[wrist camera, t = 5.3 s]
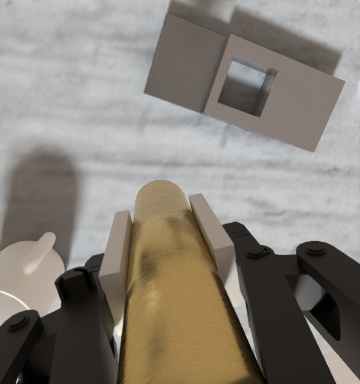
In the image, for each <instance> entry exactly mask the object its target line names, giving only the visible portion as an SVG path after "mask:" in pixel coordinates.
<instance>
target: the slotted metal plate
mask: <svg viewBox="0 0 360 384" xmlns="http://www.w3.org/2000/svg"><path fill="white" fill-rule="evenodd" d="M232 60H233V61H236V62H238V63H241V64H243V65H246V66H248V67H251V68H253V69H256V70H258V71H261V72H263V73H266V74H267V76H266V78H265V81H264V83H263V86H262V89H261V91H260V94H259V96H258V99H257V102H256V104H255V107H254V110H253V112H252V115H251V114H248V113H245V112H243V111H240V110H237V109H234V108H232V107H229V106H226V105H223V104H221V103H218V99H219V96H220V93H221V90H222V87H223V84H224V82H225V79H226V76H227V73H228V70H229V67H230V65H231V62H232ZM345 82H346V81H343V80H341V79H338V78H336V77H334V76H331V75H329V74H326V73H324V72H322V71H319V70H317V69H315V68H312V67H310V66H307V65H305V64H303V63H300V62H298V61H295V60H293V59H291V58H288V57H286V56H284V55H281V54H279V53H276V52H274V51H272V50H269V49H267V48H264V47H262V46H260V45H257V44H255V43H252V42H250V41H248V40H245V39H243V38H241V37H238V36H236V35H233V34H230V35H229V36H228V37H226V36H223V35H221V34H218V33H216V32H214V31H211V30H209V29H206V28H204V27H201V26H199V25H197V24H194V23H192V22H189V21H187V20H185V19H182V18H180V17H177V16H175V15H173V14H170V13H168V12H167V15H166V18H165V22H164V25H163V29H162V32H161V36H160V39H159V42H158V46H157V49H156V53H155V56H154V60H153V63H152V67H151V70H150V73H149V77H148V80H147V84H146V87H145V91H144V94H147V95H150V96H153V97H156V98H159V99H161V100H164V101H167V102H170V103H173V104H175V105H178V106H181V107H184V108H187V109H189V110H192V111H195V112H198V113H201V114H203V115H206V116H209V117H212V118H215V119H218V120H220V121H223V122H226V123H229V124H232V125H234V126H237V127H240V128H243V129H246V130H248V131H251V132H254V133H259V134H261V135H264V136H267V137H270V138H273V139H275V140H278V141H281V142H284V143H287V144H289V145H292V146H295V147H298V148H301V149H304V150H306V151H310V152H314V151H315V149H316V147H317V144H318V142H319V140H320V138H321V136H322V133H323V131H324V129H325V127H326V124H327V122H328V120H329V118H330V115H331V113H332V111H333V109H334V106H335V104H336V102H337V100H338V97H339V95H340V93H341V91H342V88H343V86H344V84H345Z"/></svg>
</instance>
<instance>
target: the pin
mask: <svg viewBox="0 0 360 384" xmlns="http://www.w3.org/2000/svg"><path fill="white" fill-rule="evenodd" d="M117 384H267V383H266V381H265V378H264V376H263V374H262V372H261V369H260V367H259V365H258V362H257V360H256V358H255V355H254V353H253V351H252V349H251V346H250V344H249V342H248V339H247V337H246V335H245V333H244V330H243V328H242V326H241V323H240V321H239V319H238V317H237V314H236V312H235V310H234V307H233V305H232V303H231V301H230V298H229V296H228V294H227V291H226V289H225V287H224V285H223V282H222V280H221V278H220V275H219V273H218V271H217V269H216V266H215V264H214V262H213V259H212V257H211V255H210V253H209V250H208V248H207V246H206V243H205V241H204V239H203V237H202V234H201V232H200V230H199V227H198V225H197V223H196V221H195V218H194V216H193V214H192V211H191V209H190V207H189V205H188V202H187V200H186V198H185V195H184V193H183V191H182V190H181V189H180V188H179V187H178V186H177V185H176V184H174V183H172V182H170V181H166V180H156V181H152V182H150V183H148V184H146V185H145V186H144V187H143V188H142V189H141V190H140V191H139V193H138V194H137V197H136V200H135V209H134V219H133V229H132V239H131V248H130V258H129V268H128V278H127V287H126V297H125V307H124V317H123V326H122V336H121V346H120V356H119V365H118V375H117Z"/></svg>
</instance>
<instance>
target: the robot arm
mask: <svg viewBox="0 0 360 384" xmlns="http://www.w3.org/2000/svg"><path fill="white" fill-rule="evenodd" d="M189 200H190V205H191V210H192V214H193V216H194V218H195V221H196V223H197V225H198V227H199V230H200V232H201V234H202V237H203V239H204V241H205V243H206V246H207V248H208V250H209V253H210V255H211V257H212V259H213V262H214V264H215V266H216V269H217V271H218V273H219V275H220V278H221V280H222V282H223V285H224V287H225V289H226V291H227V294H228V296H229V298H230V301H231V303H232V305H233V307H237V306H241V305H243V299H242V296H243V298H244V299H245V303H246V310H247V316H248V323H249V328H251V333H252V337H253V342H254V347H255V351H256V356H257V360H258V365H259V367H260V369H261V372H262V374H263V376H264V378H265V381H266V383H267V384H336V382H335V380H334V378H333V376H332V374H331V372H330V369H329V367H328V365H327V363H326V361H325V359H324V357H323V355H322V353H321V350H320V348H319V346H318V344H317V342H316V340H315V338H314V336H313V334H312V331H311V329H310V327H309V325H308V323H307V321H306V319H305V317H306V318H307V319H308V320H309V322H310V323H311V324H312V325H313V326H314V327H315V329H316V330H317V331H318V332H319V333H320V334H321V335H322V337H323V338H324V339H325V340H326V341H327V342H328V344H329V345H330V346H331V347H332V348H333V349H334V351H335V352H336V353H337V354H338V355H339V356H340V358H341V359H342V360H343V361H344V362H345V363H346V364H347V366H348V367H349V368H350V369H351V370H352V372H353V373H354V374H355V375H356V376H357V377H358V378H359V380H360V264H359V263H358V262H356V261H355V260H353V259H352V258H350V257H349V256H347V255H346V254H344V253H343V252H341V251H340V250H338V249H337V248H335V247H334V246H332V245H330V244H328V243H325V242H320V241H310V242H304V243H302V244H300V245H299V246H298V247H297V248H296V254H295V255H277V254H275V253H274V251H273V250H272V249H271V248H269V247H267V246H264V245H260V244H259V243H258V242H257V241H256V239H255V238H254V237H253V236H252V234H251V233H250V232H249V231H248V230H247V228H246V227H245V226H244V225H243V224H241V223H238V222H232V223H228V224H224V225H221V223H220V222H219V220H218V219H217V217H216V216H215V214H214V212H213V211H212V209H211V208H210V206H209V205H208V203H207V201H206V200H205V198H204V197H203V195H202V194H201V193H200V194H196V195H191V196H189ZM132 229H133V223H132V220H131V216H130V212H129V210H125V211H120V212H116V214H115V217H114V221H113V225H112V228H111V232H110V236H109V239H108V243H107V247H106V250H105V253H102V254H98V255H94V256H92V257H91V258H90V259H89V260H88V261H87V262H86V263H85V266H84V267H76V268H73V269H71V270H68V271H66V272H65V273H63V274H61V275H60V276H59V277H58V278H57V279H56V281H55V282H54V284H55V286H56V289H57V292H58V294H59V297H60V299H61V308H60V309H58V310H56V311H54V312H52V313H50V314H47V315H45V316H43V317H40V316H39V313H38V311H36V310H34V309H32V310H25V311H22V312H18V313H16V314H14V315H12V316H11V317H10V318H9V319H7V320H6V321H5V322H4V323H3V324H2V325H1V326H0V384H16V381H17V378H18V379H19V380H18V382H17V384H117V375H118V365H119V364H118V355H117V346H116V342H115V339H114V336H113V331H114V326H115V329H116V332H117V335H118V336H120V335H122V326H123V317H124V307H125V297H126V287H127V278H128V268H129V258H130V248H131V239H132ZM304 316H305V317H304Z"/></svg>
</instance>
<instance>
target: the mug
mask: <svg viewBox="0 0 360 384" xmlns="http://www.w3.org/2000/svg"><path fill="white" fill-rule="evenodd" d="M55 240H56V236H55V234H54V233H52V232H47V233H45V234H44V235H43V236H42V237H41V238H40V239H39V240H38V241H20V242H16V243H13V244H11V245H9V246H8V247H6V248H5V249H3V250H2V251H1V252H0V326H1V325H2V324H3V323H4V322H5V321H6V320H7V319H9V318H10V317H11V316H12V315H14V314H16V313H18V312H22V311H25V310H32V309H34V310H36V311H38V313H39V316H40V317H43V316H45V315H47V314H48V312H49V310H50V308H51V306H52V304H53V302H54V300H55V298H56V296H57V294H58V292H57V289H56V286H55V284H54V282H55V281H56V279H57V278H58V277H59V276H60V275H61V274H63V273H65V268H64V264H63V261H62V259H61V257H60V256H59V254H58V253H57V252H56V251H55V250H54V249H52V247H53V245H54V243H55Z"/></svg>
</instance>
